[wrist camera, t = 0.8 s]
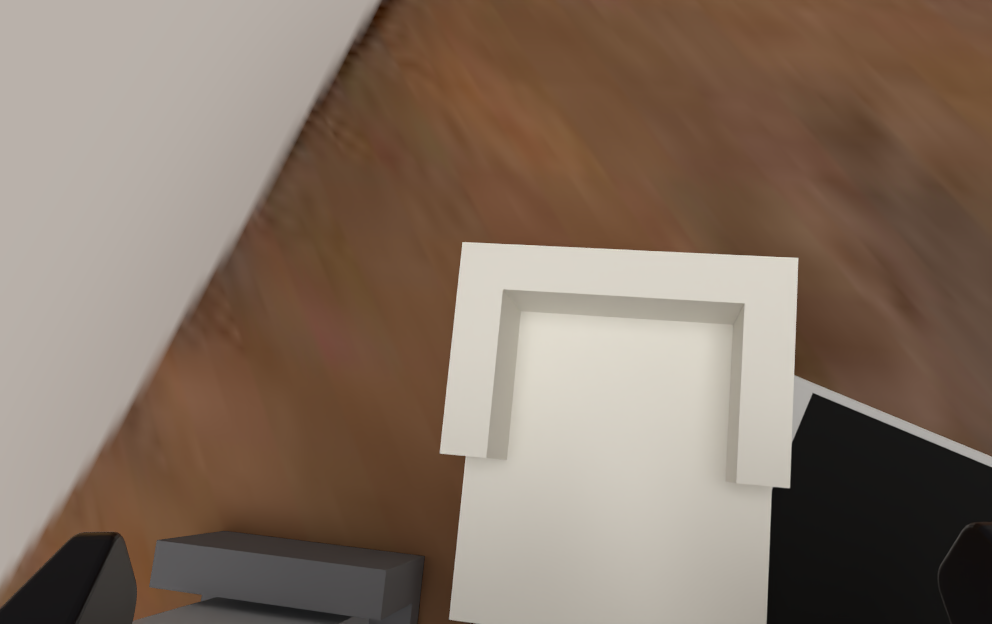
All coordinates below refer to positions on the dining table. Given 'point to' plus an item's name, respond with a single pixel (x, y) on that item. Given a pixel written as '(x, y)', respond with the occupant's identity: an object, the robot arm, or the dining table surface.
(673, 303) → the port
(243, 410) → the dining table surface
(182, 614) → the plug
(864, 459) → the smartphone
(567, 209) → the dining table surface
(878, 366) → the dining table surface
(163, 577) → the holster
